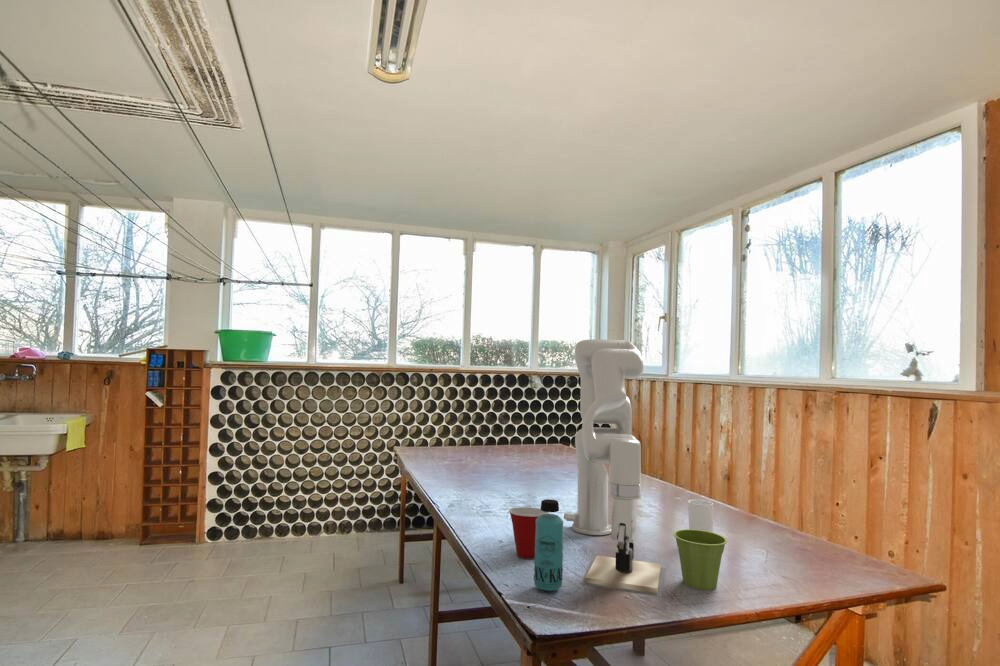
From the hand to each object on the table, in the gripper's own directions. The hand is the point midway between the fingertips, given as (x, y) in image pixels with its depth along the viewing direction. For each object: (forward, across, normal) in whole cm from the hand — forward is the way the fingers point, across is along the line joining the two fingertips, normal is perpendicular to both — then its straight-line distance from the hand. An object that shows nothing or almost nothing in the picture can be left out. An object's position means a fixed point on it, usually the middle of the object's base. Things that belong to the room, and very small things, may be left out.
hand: (624, 564), depth 127 cm
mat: (+3, 0, 0) cm, 3 cm away
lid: (+3, 0, 0) cm, 3 cm away
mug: (+3, -36, +18) cm, 40 cm away
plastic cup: (+3, -6, -26) cm, 27 cm away
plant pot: (+3, -2, +17) cm, 17 cm away
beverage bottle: (+3, +15, -15) cm, 21 cm away
